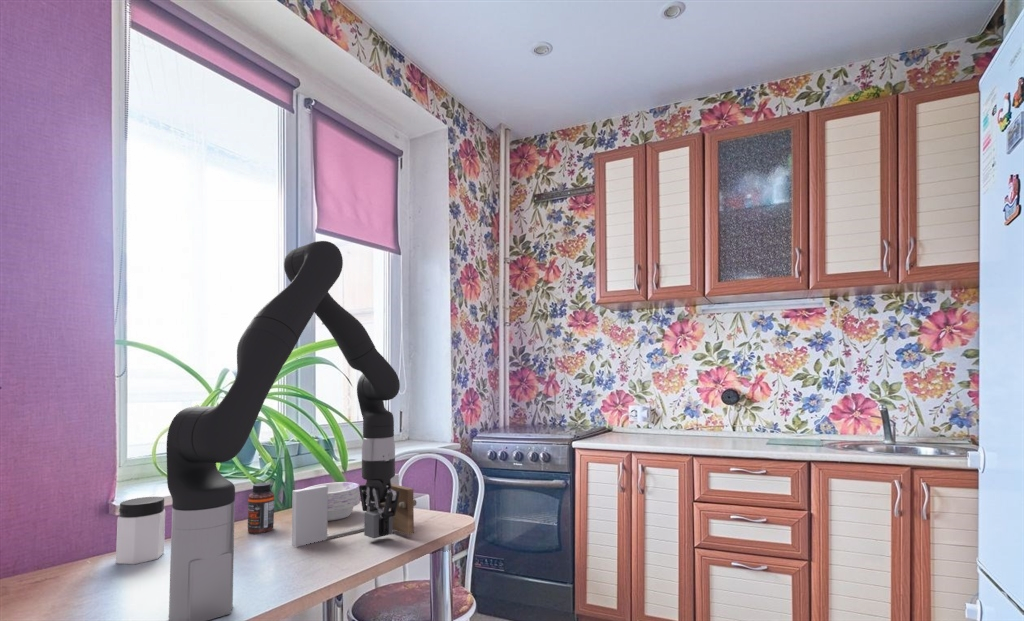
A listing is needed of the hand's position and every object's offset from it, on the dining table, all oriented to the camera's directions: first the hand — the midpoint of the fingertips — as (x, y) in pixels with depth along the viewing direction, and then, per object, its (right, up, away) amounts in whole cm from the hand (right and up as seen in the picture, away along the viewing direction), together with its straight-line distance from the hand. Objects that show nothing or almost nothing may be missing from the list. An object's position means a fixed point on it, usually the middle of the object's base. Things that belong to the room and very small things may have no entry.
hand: (378, 533), depth 133 cm
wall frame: (-8, -3, +7) cm, 11 cm away
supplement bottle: (-32, -4, +11) cm, 34 cm away
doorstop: (0, 0, 0) cm, 0 cm away
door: (+2, -1, +6) cm, 7 cm away
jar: (-49, -2, -9) cm, 50 cm away
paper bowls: (-18, -5, +23) cm, 29 cm away
